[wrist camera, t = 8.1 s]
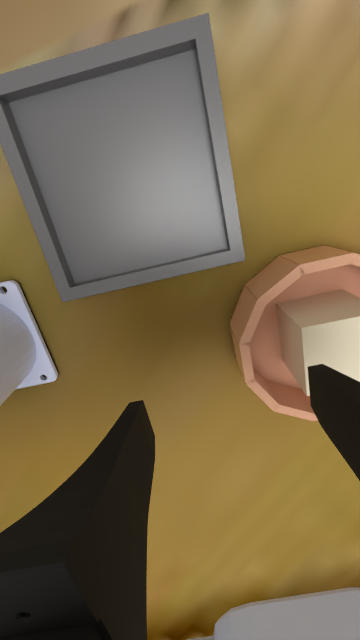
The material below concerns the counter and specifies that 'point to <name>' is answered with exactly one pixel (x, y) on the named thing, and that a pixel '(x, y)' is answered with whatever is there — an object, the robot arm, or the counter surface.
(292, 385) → the bowl
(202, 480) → the counter surface
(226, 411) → the counter surface
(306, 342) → the cream cube block
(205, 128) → the parts tray
